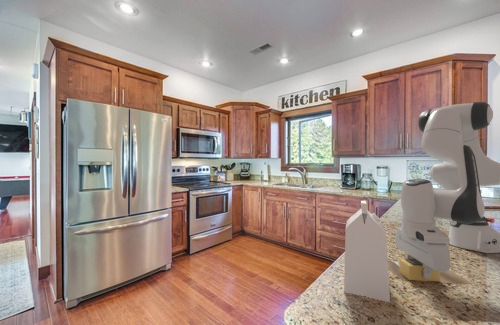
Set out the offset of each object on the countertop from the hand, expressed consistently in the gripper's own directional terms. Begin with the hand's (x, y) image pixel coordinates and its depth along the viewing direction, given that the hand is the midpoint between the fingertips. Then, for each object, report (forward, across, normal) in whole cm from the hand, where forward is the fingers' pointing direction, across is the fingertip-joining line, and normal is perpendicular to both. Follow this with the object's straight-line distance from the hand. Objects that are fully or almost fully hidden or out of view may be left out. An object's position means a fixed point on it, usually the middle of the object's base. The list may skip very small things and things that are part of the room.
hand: (419, 272), depth 70 cm
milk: (+3, +5, -19) cm, 19 cm away
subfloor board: (+3, -4, +3) cm, 6 cm away
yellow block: (+1, 0, 0) cm, 1 cm away
